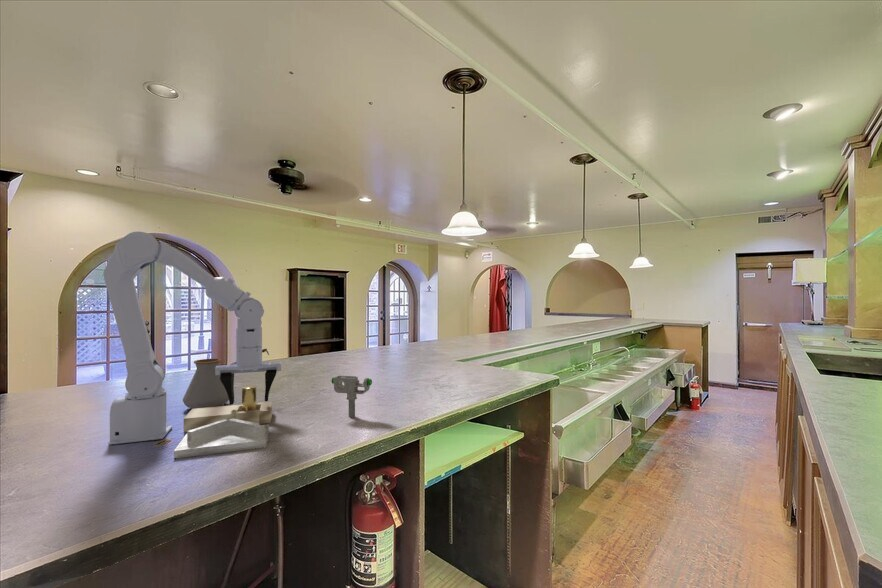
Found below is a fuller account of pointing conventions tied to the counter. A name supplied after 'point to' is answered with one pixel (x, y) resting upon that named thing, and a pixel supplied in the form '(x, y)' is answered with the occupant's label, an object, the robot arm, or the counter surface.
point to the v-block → (222, 438)
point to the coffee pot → (206, 386)
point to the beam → (227, 415)
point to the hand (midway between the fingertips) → (249, 401)
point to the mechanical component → (350, 389)
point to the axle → (249, 398)
